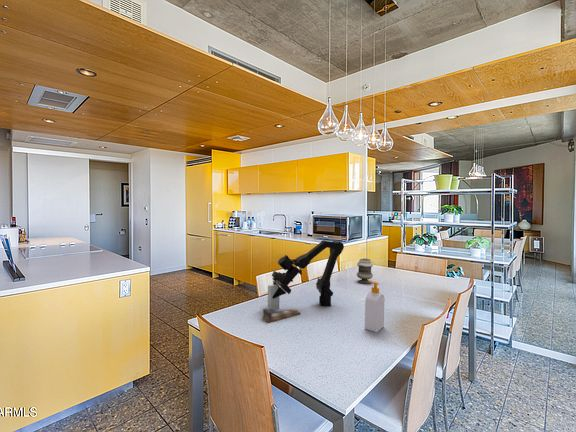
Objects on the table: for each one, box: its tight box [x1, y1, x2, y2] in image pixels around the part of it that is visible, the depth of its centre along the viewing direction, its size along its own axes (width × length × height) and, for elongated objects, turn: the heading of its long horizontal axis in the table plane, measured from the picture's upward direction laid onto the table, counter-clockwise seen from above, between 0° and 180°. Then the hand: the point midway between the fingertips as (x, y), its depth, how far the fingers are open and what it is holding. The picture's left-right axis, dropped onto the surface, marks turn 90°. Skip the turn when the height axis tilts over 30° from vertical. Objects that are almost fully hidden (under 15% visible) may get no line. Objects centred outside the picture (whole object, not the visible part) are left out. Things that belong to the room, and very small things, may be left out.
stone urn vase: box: [356, 257, 374, 285], centre depth 222 cm, size 12×12×18 cm
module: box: [267, 284, 280, 311], centre depth 162 cm, size 5×6×12 cm
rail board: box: [262, 307, 302, 323], centre depth 155 cm, size 20×7×5 cm, turn 126°
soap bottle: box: [364, 280, 386, 333], centre depth 142 cm, size 9×7×23 cm
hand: (271, 296), depth 161 cm, fingers closed on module, 6 cm apart
